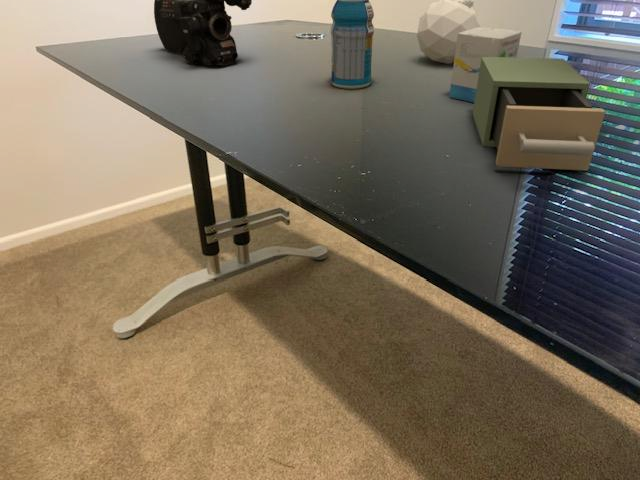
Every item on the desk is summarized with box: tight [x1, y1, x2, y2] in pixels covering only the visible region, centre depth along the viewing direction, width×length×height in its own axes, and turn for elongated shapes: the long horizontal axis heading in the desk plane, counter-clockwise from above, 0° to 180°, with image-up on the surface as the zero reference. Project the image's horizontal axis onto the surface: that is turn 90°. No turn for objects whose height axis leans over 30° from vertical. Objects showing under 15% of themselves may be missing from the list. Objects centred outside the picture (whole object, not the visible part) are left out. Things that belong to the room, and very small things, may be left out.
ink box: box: [448, 26, 522, 104], centre depth 92 cm, size 8×8×12 cm
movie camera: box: [153, 0, 253, 67], centre depth 122 cm, size 31×18×18 cm, turn 43°
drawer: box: [491, 87, 606, 172], centre depth 67 cm, size 18×11×8 cm, turn 171°
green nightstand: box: [472, 57, 591, 148], centre depth 77 cm, size 15×13×10 cm
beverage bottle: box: [330, 0, 375, 90], centre depth 98 cm, size 8×8×20 cm
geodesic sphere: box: [416, 0, 481, 65], centre depth 115 cm, size 15×14×14 cm
